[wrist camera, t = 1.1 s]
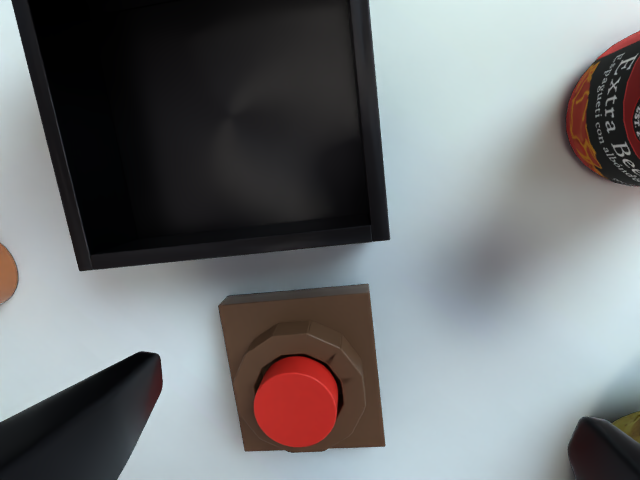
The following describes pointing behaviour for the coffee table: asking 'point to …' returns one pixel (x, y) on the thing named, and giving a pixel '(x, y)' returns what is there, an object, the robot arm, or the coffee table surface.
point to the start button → (297, 402)
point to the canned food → (609, 114)
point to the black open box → (208, 125)
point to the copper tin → (7, 274)
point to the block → (312, 342)
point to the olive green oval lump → (630, 425)
